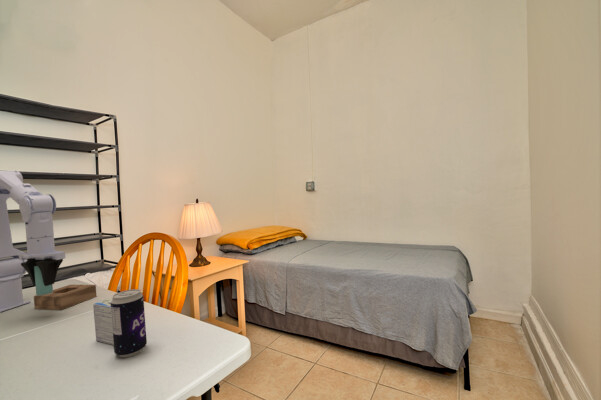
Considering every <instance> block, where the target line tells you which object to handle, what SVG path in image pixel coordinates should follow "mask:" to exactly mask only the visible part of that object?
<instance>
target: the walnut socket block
mask: <svg viewBox="0 0 601 400" xmlns="http://www.w3.org/2000/svg"><path fill="white" fill-rule="evenodd" d="M96 287H97V285H96V284H68V285H65V286H62V287H58V288H55V289H53V292H52V293H49V294H45V295H36V294H35V295H34V296H33V303H34V304H33V305H34V306H33V307H34V310H55V311H56V310H58V311H61V310H66V309H68V308H70V307H74V306H76V305H78V304H80V303H84V302H86V301H88V300H92V299H94V298H96V297H97V288H96Z"/></svg>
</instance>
